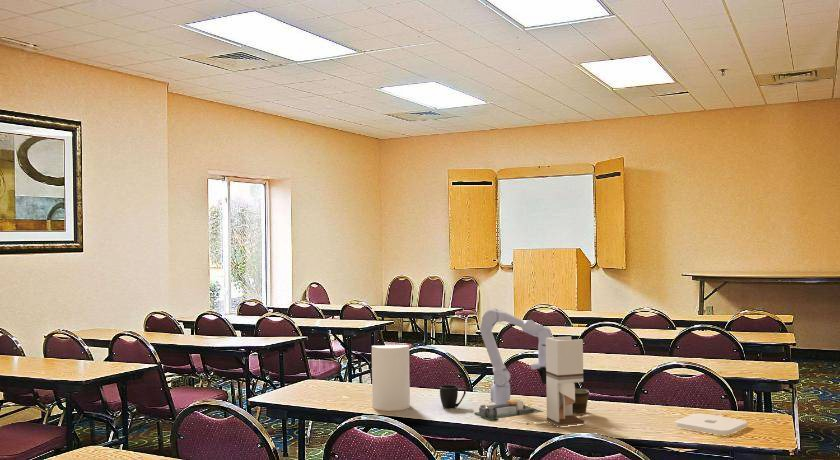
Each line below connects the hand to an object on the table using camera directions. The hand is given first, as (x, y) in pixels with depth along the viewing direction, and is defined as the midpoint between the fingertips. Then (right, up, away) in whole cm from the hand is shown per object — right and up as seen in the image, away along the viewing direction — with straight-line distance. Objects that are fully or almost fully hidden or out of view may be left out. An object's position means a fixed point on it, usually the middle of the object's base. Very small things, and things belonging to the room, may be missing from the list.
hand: (545, 383), depth 338 cm
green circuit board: (-18, -10, -13) cm, 25 cm away
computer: (+60, -10, -40) cm, 73 cm away
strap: (-22, -7, -15) cm, 28 cm away
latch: (-15, -10, -12) cm, 21 cm away
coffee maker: (+3, -10, -31) cm, 33 cm away
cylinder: (-70, -12, +5) cm, 71 cm away
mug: (-42, -11, 0) cm, 43 cm away
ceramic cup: (+10, -10, -15) cm, 21 cm away
